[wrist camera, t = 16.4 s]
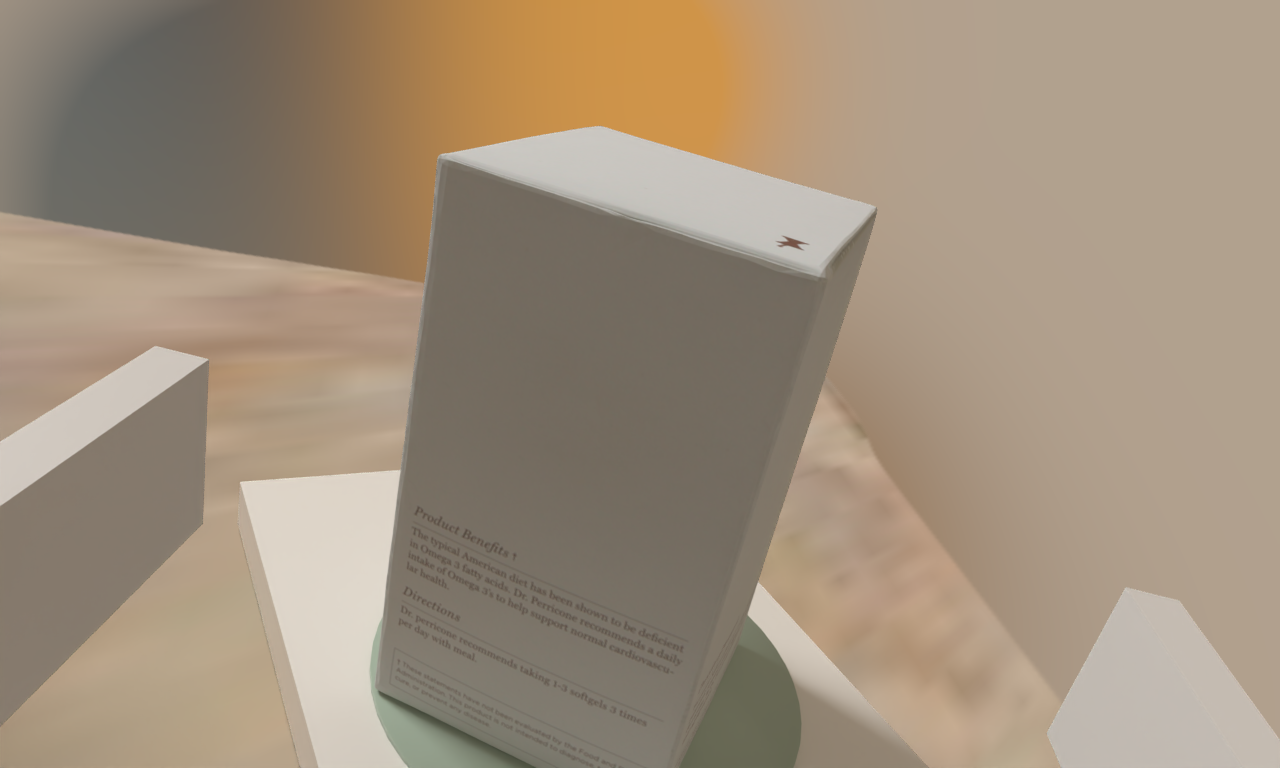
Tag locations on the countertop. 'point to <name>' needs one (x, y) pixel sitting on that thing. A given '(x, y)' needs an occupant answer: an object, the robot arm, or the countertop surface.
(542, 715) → the supplement box
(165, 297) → the countertop surface
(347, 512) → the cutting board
